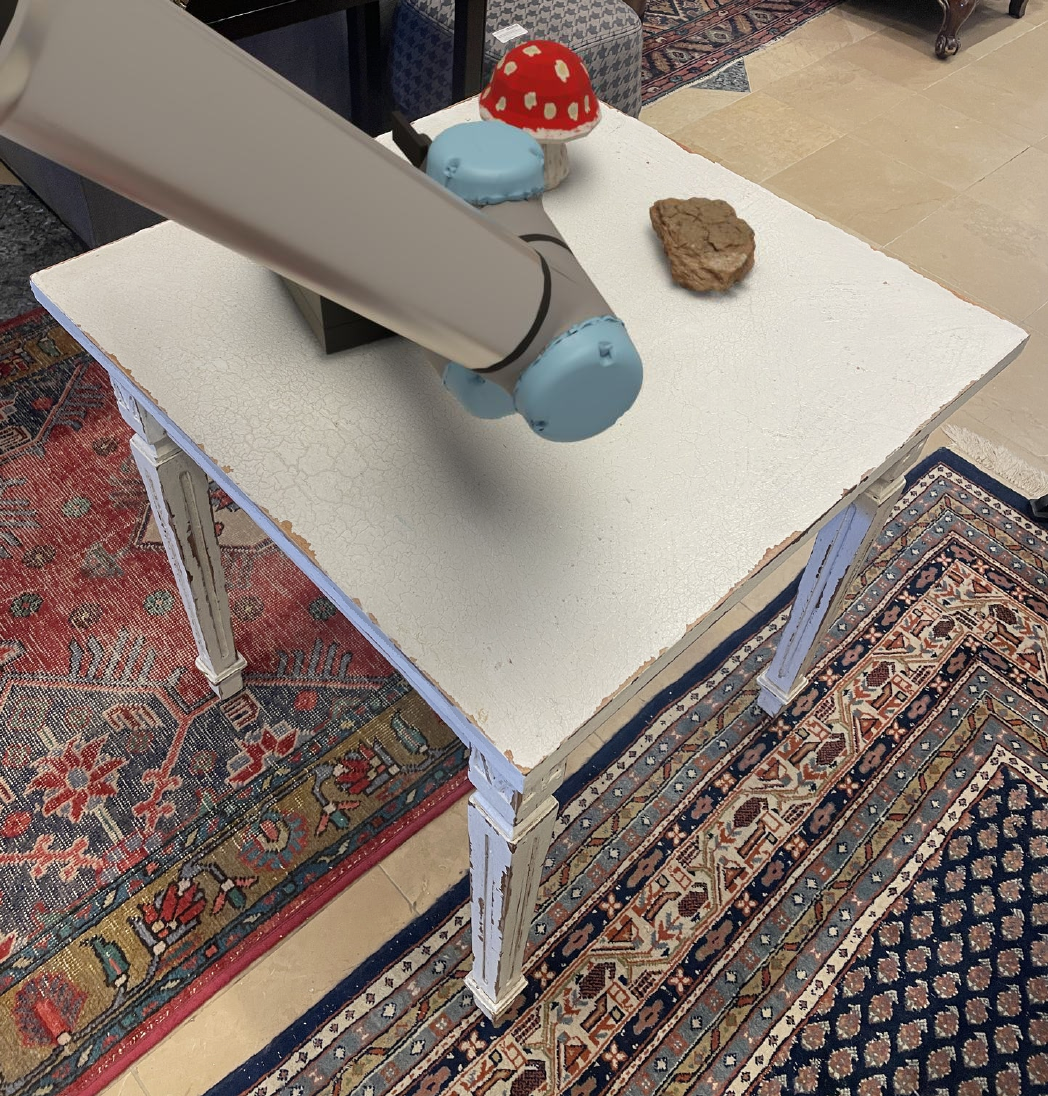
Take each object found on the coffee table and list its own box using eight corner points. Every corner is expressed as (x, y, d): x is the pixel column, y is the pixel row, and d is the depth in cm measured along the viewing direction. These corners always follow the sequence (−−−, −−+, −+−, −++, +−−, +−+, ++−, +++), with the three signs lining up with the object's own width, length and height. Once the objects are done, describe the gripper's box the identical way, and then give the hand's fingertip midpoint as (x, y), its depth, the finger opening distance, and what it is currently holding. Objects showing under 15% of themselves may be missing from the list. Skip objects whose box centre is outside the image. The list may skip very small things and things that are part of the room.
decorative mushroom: (488, 138, 116) (493, 6, 105) (601, 156, 116) (619, 26, 104) (462, 199, 108) (464, 63, 96) (583, 220, 107) (601, 86, 95)
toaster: (314, 358, 90) (302, 267, 82) (252, 252, 99) (236, 162, 91) (442, 323, 94) (443, 233, 86) (372, 225, 104) (366, 136, 96)
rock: (768, 302, 100) (782, 261, 96) (667, 303, 99) (676, 261, 95) (737, 229, 108) (748, 188, 104) (643, 229, 107) (651, 188, 103)
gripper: (277, 344, 75) (198, 203, 86) (553, 272, 84) (449, 152, 95) (264, 263, 69) (181, 122, 80) (563, 194, 78) (450, 75, 89)
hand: (326, 138), depth 88 cm, fingers open, 13 cm apart
